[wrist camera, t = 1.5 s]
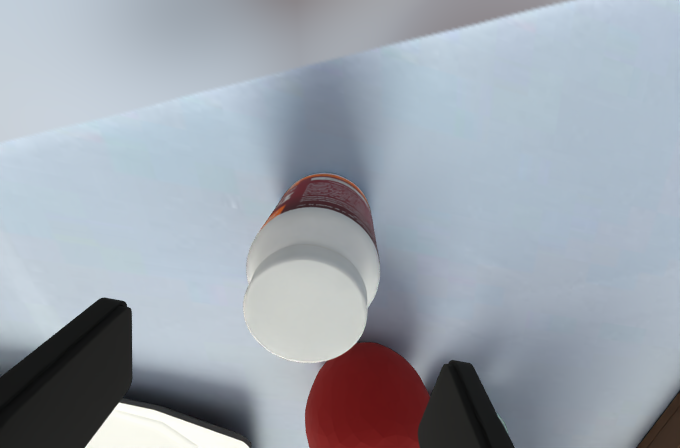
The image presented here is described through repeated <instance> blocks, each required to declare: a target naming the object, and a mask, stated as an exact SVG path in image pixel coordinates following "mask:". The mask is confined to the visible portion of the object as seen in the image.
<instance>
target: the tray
mask: <svg viewBox="0 0 680 448" xmlns="http://www.w3.org/2000/svg"><path fill="white" fill-rule="evenodd" d="M637 448H680V392H679V393H678V394H677V396H676V397H675V398H674V400H673V401H672V402H671V404H670V405H669V406H668V408H667V409H666V410H665V412H664V413H663V414H662V415H661V417H660V418H659V419H658V421H657V422H656V423H655V425H654V426H653V427H652V429H651V430H650V431H649V433H648V434H647V435H646V437H645V438H644V439H643V440H642V442H641V443H640V444H639V446H638V447H637Z"/></svg>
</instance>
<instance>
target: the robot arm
mask: <svg viewBox="0 0 680 448" xmlns="http://www.w3.org/2000/svg"><path fill="white" fill-rule="evenodd" d="M131 382H132V311H131V308H129V307H127V304H126V302H124V301H120V300H115V299H109V298H101V299H99V300H97V301H96V302H95V303H94V304H92V305H91V306H90V307H89V308H87V309H86V310H85V311H84V312H82V313H81V314H80V315H78V316H77V317H76V318H75V319H73V320H72V321H71V322H70V323H68V324H67V325H66V326H65V327H63V328H62V329H61V330H60V331H58V332H57V333H56V334H55V335H53V336H52V337H51V338H49V339H48V340H47V341H46V342H44V343H43V344H42V345H41V346H39V347H38V348H37V349H36V350H34V351H33V352H32V353H31V354H29V355H28V356H27V357H26V358H24V359H23V360H22V361H20V362H19V363H18V364H17V365H15V366H14V367H13V368H12V369H10V370H9V371H8V372H7V373H5V374H4V375H3V376H2V377H0V448H85V447H86V446H87V444H88V443H89V442H90V440H91V439H92V438H93V436H94V435H95V434H96V432H97V431H98V430H99V428H100V427H101V426H102V424H103V423H104V422H105V420H106V419H107V418H108V416H109V415H110V414H111V413H112V411H113V410H114V409H115V407H116V406H117V405H118V403H119V402H120V401H121V399H122V398H123V397H124V395H125V394H126V393H127V391H128V389H129V387H130V385H131ZM418 441H419V446H420V448H515V447H514V445H513V443H512V441H511V439H510V437H509V435H508V433H507V431H506V429H505V427H504V425H503V424H502V422H501V420H500V419H499V418H498V416H497V414H496V412H495V409H494V407H493V405H492V403H491V401H490V399H489V397H488V395H487V393H486V391H485V389H484V387H483V385H482V383H481V381H480V379H479V377H478V375H477V373H476V371H475V369H474V367H473V366H472V364H470V363H466V362H460V361H455V360H451V361H450V362H449V363H448V364H444V365H443V367H442V369H441V372H440V374H439V377H438V379H437V382H436V384H435V387H434V389H433V392H432V394H431V397H430V399H429V402H428V404H427V407H426V409H425V412H424V414H423V417H422V419H421V422H420V424H419V427H418Z"/></svg>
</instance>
